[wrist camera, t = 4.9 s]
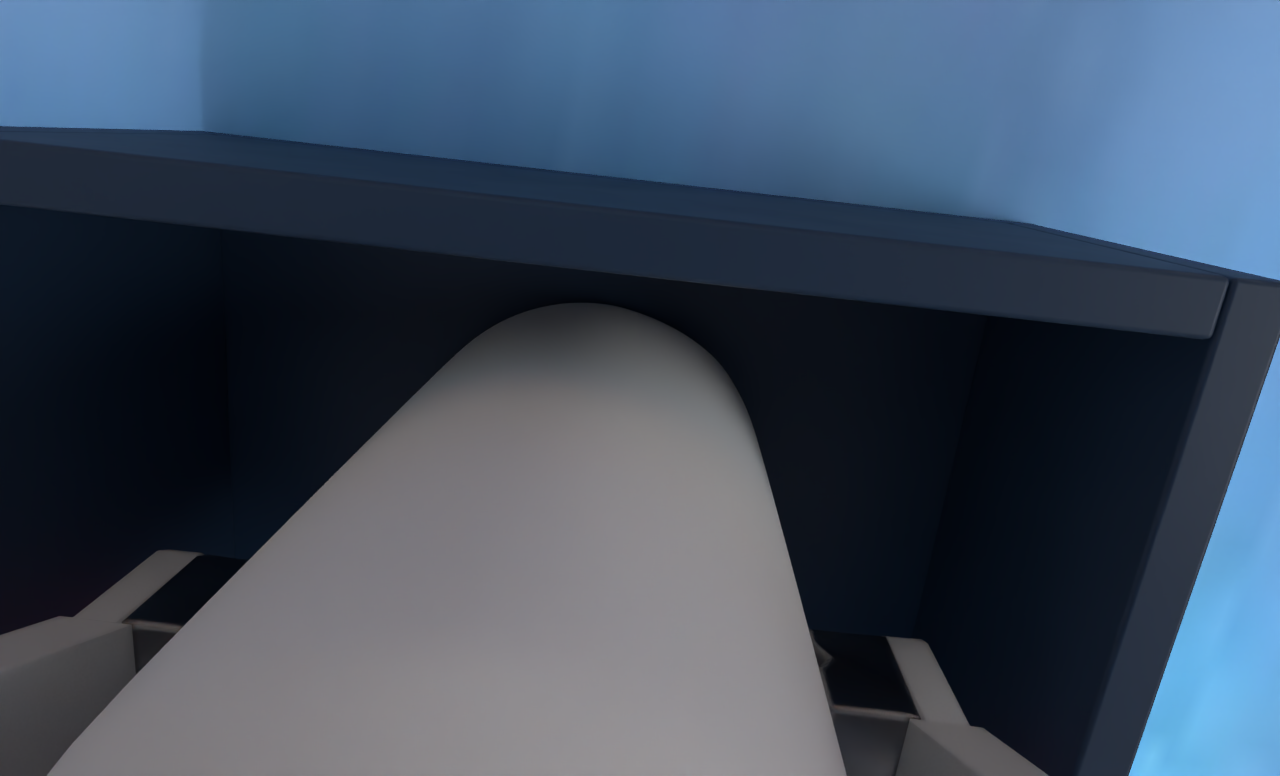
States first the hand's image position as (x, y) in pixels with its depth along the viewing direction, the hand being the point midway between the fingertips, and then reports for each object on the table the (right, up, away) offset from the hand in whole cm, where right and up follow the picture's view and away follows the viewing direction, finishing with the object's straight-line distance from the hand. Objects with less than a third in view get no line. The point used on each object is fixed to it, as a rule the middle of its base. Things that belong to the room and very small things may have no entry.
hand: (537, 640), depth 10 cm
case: (0, +1, +7) cm, 7 cm away
